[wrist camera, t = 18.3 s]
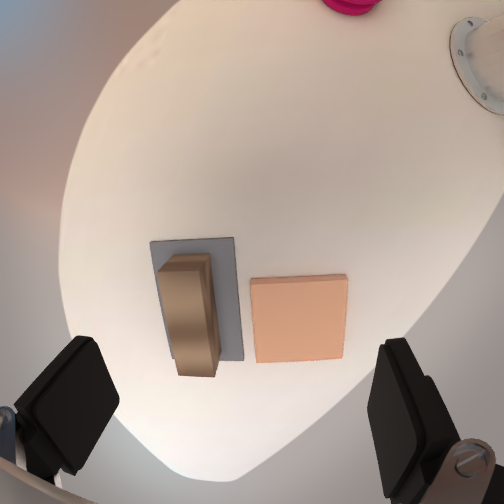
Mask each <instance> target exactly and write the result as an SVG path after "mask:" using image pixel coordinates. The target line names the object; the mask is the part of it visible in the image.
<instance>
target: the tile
mask: <svg viewBox="0 0 504 504" xmlns="http://www.w3.org/2000/svg"><path fill="white" fill-rule="evenodd" d="M250 289H251V302H252V315H253V327H254V340H255V352H256V363H272V362H297V361H314V360H328V359H340V358H342V356H343V346H344V335H345V323H346V310H347V294H348V278H347V277H346V275H345V274H342V275H323V276H304V277H282V278H258V279H251V282H250Z"/></svg>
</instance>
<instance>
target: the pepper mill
mask: <svg viewBox="0 0 504 504" xmlns="http://www.w3.org/2000/svg"><path fill="white" fill-rule="evenodd" d="M323 1H324V2H325V3H326V4H327V5H328V6H329V7H331V8H332V9H334V10H336V11H338V12H341V13H343V14H348V15H360V14H364V13H366V12H368V11H369V10H371V9H372V7H373V6H374V4H375V3H377V2H380V1H381V0H323Z"/></svg>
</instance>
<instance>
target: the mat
mask: <svg viewBox="0 0 504 504" xmlns="http://www.w3.org/2000/svg"><path fill="white" fill-rule="evenodd" d="M150 250H151V256H152V262H153V268H154V274H155V280H156V285H157V291H158V296H159V301H160V306H161V311H162V316H163V320H164V325H165V330H166V334H167V339H168V343H169V347H170V352H171V356H172V359H174V355H173V351H172V346H171V342H170V337H169V333H168V328H167V323H166V319H165V314H164V309H163V303H162V298H161V293H160V287H159V282H158V276H157V271H158V270H159V269H160V268H161V267H162V266H163V265H164V264H165V263H166V262H167V261H168V260H169V259H170V258H171V257H172V255H180V254H208V253H210V258H211V267H212V276H213V285H214V294H215V302H216V310H217V318H218V326H219V334H220V341H221V349H222V351H221V355H220V359H219V361H244V351H243V341H242V330H241V319H240V308H239V297H238V285H237V274H236V262H235V250H234V238H233V237H231V238H210V239H189V240H170V241H151V242H150Z"/></svg>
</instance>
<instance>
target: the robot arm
mask: <svg viewBox="0 0 504 504" xmlns="http://www.w3.org/2000/svg"><path fill="white" fill-rule="evenodd" d="M450 48H451V54H452V58H453V62H454V65H455V68H456V70H457V72H458V75H459V77H460V79H461V80H462V82H463V84H464V86H465V87H466V88H467V90H468V91H469V93H470V94H471V95H472V96H473V97H474V98H475V100H476V101H477V102H479V103H480V104H481V105H482V106H483V107H485V108H486V109H488V110H489V111H491V112H494V113H496V114H502V115H504V14H502V15H500V16H498V17H496V18H494V19H492V20H490V21H486V20H484V19H480V18H476V17H469V18H465V19H463V20H462V21H460V22H459V23H457V24H456V25H455V27H454V29H453V30H452V34H451V38H450ZM118 405H119V395H118V393H117V390H116V388H115V386H114V384H113V381H112V379H111V377H110V374H109V372H108V369H107V367H106V364H105V362H104V359H103V357H102V354H101V352H100V349H99V346H98V344H97V343H96V342H95V341H94V339H93V338H92V337H87V336H80V335H79V336H76V337H75V338H74V339H73V340H72V341H71V342H70V343H69V344H68V345H67V346H66V347H65V348H64V349H63V350H62V351H61V352H60V353H59V354H58V355H57V357H56V358H55V359H54V360H53V361H52V362H51V363H50V364H49V365H48V366H47V367H46V368H45V369H44V371H43V372H42V373H41V374H40V375H39V376H38V377H37V378H36V379H35V381H34V382H33V383H32V384H31V385H30V386H29V387H28V388H27V390H26V391H25V392H24V393H23V394H22V395H21V397H20V398H19V399H18V400H17V401H16V402H15V403H14V406H15V408H16V409H17V411H18V412H17V414H15V412H14V411H13V410H12V409H11V408H10V407H7V406H2V407H0V504H97V503H94V502H92V501H89V500H87V499H84V498H82V497H79V496H77V495H75V494H72V493H70V492H68V491H65V490H63V489H62V484H61V480H60V476H59V469H60V468H61V469H62V470H63V471H64V472H66V473H69V474H71V475H74V476H75V475H76V473H77V471H78V470H80V469H82V467H83V466H84V464H85V462H86V460H87V459H88V457H89V455H90V453H91V452H92V450H93V448H94V446H95V444H96V443H97V441H98V439H99V438H100V436H101V434H102V432H103V431H104V429H105V427H106V425H107V424H108V422H109V420H110V419H111V417H112V415H113V413H114V412H115V410H116V408H117V407H118ZM367 412H368V417H369V422H370V427H371V431H372V436H373V440H374V445H375V450H376V454H377V460H378V464H379V470H380V475H381V481H382V486H383V492H384V496H385V498H390V500H391V504H401V503H402V504H504V467H503V466H501V465H498V464H495V463H496V457H495V453H494V451H493V449H492V447H491V446H489V445H488V444H487V443H486V442H484V441H482V440H480V439H474V438H470V439H464V440H461V439H460V437H459V435H458V432H457V430H456V428H455V426H454V423H453V421H452V419H451V417H450V415H449V412H448V410H447V408H446V406H445V404H444V402H443V400H442V398H441V396H440V394H439V391H438V390H437V388H436V385H435V383H434V381H433V380H432V378H431V377H430V376H428V375H427V376H424V374H423V372H422V370H421V368H420V366H419V364H418V362H417V360H416V358H415V356H414V354H413V352H412V350H411V348H410V346H409V345H408V343H407V341H406V339H405V338H394V339H387V340H386V341H385V344H382V345H380V347H379V352H378V357H377V363H376V368H375V373H374V378H373V383H372V387H371V392H370V396H369V401H368V406H367Z"/></svg>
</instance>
